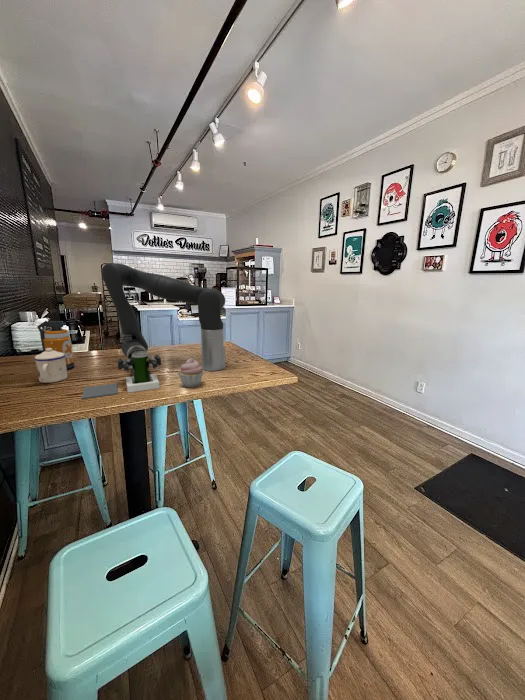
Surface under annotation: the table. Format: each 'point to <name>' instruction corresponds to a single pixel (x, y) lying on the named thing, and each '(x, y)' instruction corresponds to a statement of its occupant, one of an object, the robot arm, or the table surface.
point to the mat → (99, 391)
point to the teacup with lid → (51, 366)
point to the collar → (142, 384)
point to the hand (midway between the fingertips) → (141, 367)
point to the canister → (57, 339)
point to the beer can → (140, 367)
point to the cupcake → (191, 373)
